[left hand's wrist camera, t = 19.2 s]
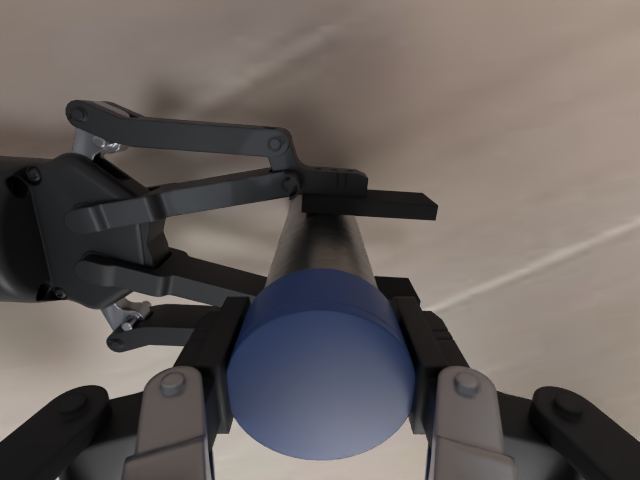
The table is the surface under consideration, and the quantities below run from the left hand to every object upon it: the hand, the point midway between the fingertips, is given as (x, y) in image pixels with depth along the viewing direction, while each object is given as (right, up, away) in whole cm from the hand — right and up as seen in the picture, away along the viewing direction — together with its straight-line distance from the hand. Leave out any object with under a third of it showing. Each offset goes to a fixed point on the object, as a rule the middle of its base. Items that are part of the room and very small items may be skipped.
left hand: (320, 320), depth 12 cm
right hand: (+5, +2, +7) cm, 9 cm away
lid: (0, -1, -3) cm, 3 cm away
